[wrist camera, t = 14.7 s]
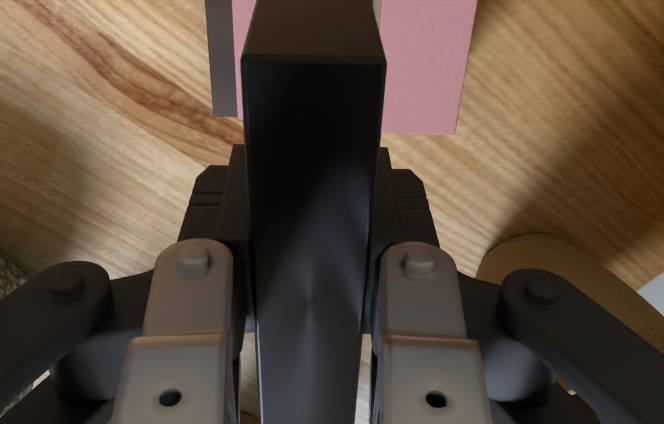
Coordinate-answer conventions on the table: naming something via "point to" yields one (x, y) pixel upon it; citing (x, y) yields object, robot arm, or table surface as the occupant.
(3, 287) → the bowl
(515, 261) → the plant pot
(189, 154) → the table surface
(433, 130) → the slice
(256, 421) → the cup
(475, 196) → the table surface
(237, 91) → the cake
